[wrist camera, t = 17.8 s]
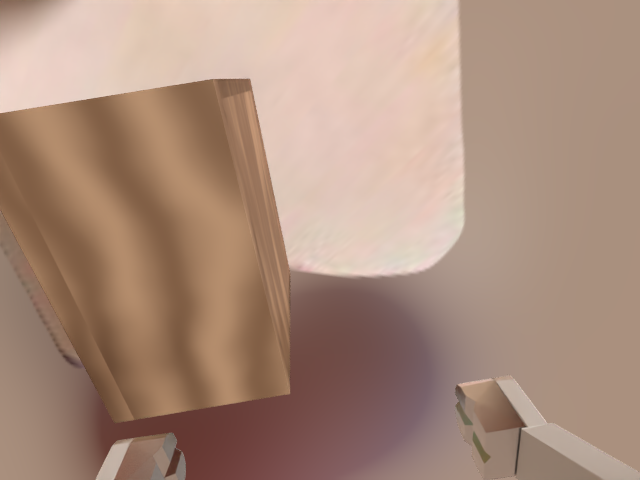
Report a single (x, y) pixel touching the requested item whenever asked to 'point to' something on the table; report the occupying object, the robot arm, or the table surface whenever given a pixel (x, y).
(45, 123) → the cabinet
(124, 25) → the table surface
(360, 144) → the table surface
